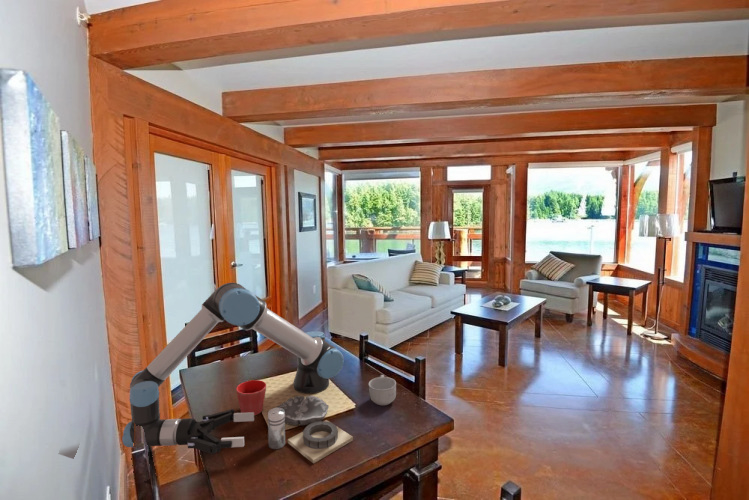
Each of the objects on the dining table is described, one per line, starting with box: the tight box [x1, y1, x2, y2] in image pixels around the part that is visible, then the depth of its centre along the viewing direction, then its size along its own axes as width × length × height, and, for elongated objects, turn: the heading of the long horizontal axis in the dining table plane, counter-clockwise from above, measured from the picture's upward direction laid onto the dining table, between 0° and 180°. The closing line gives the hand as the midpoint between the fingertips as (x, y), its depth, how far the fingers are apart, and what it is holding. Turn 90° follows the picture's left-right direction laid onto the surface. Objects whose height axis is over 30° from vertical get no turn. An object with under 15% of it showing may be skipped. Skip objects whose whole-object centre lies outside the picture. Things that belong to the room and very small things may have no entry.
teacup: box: [368, 374, 397, 406], centre depth 149 cm, size 14×11×8 cm
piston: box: [267, 407, 286, 450], centre depth 120 cm, size 5×5×11 cm
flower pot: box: [236, 379, 267, 416], centre depth 139 cm, size 11×11×10 cm
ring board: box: [287, 419, 354, 464], centre depth 122 cm, size 14×16×4 cm
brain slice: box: [275, 395, 329, 426], centre depth 138 cm, size 20×17×3 cm
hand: (249, 428), depth 119 cm, fingers open, 13 cm apart
